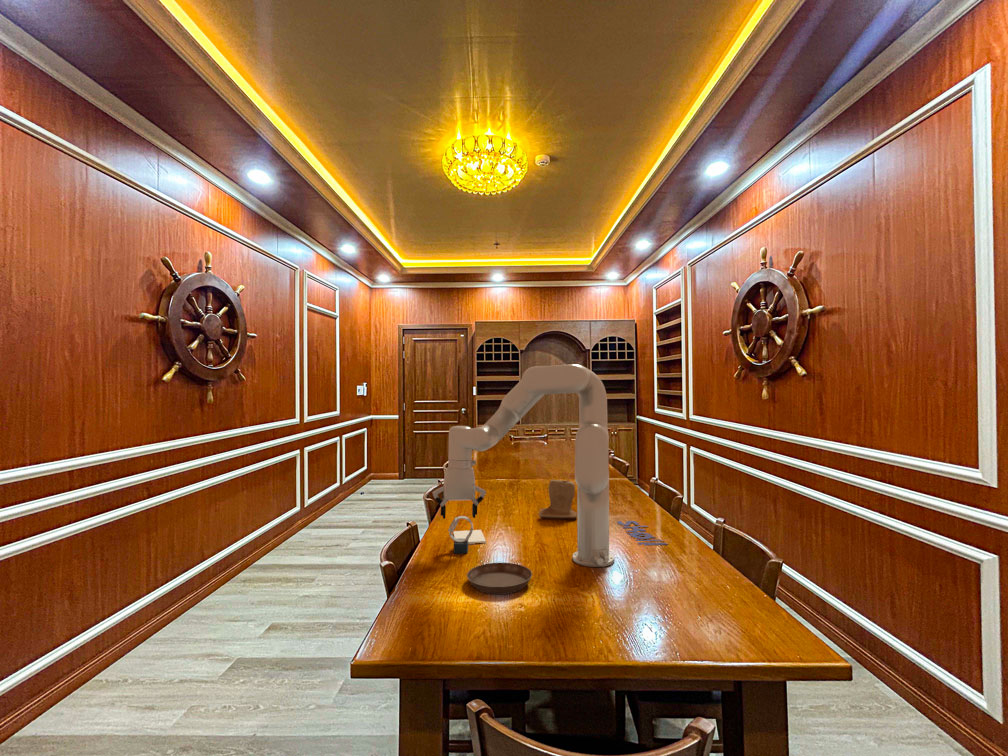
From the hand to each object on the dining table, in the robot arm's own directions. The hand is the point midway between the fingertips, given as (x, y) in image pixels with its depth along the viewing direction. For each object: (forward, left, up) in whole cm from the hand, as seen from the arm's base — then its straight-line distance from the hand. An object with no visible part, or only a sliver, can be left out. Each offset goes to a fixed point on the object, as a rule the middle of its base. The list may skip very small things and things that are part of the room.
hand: (458, 517), depth 163 cm
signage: (+7, -66, -11) cm, 67 cm away
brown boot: (+33, -43, -11) cm, 55 cm away
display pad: (+12, -5, -11) cm, 17 cm away
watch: (0, -1, -11) cm, 11 cm away
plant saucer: (-28, -9, -11) cm, 32 cm away
